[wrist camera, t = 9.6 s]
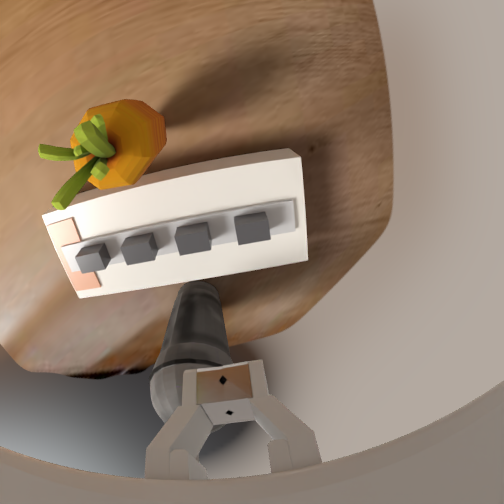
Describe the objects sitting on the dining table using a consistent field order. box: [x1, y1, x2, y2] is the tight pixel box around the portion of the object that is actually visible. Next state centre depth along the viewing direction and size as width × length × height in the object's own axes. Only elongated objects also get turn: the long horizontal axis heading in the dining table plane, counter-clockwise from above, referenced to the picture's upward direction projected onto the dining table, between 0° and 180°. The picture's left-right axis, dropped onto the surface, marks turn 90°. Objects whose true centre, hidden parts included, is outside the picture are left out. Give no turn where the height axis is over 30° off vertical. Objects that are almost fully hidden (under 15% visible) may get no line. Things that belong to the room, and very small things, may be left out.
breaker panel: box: [42, 148, 308, 298], centre depth 23 cm, size 9×22×6 cm, turn 98°
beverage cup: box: [149, 281, 233, 462], centre depth 22 cm, size 7×7×20 cm
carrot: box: [38, 99, 167, 210], centre depth 15 cm, size 5×5×15 cm
